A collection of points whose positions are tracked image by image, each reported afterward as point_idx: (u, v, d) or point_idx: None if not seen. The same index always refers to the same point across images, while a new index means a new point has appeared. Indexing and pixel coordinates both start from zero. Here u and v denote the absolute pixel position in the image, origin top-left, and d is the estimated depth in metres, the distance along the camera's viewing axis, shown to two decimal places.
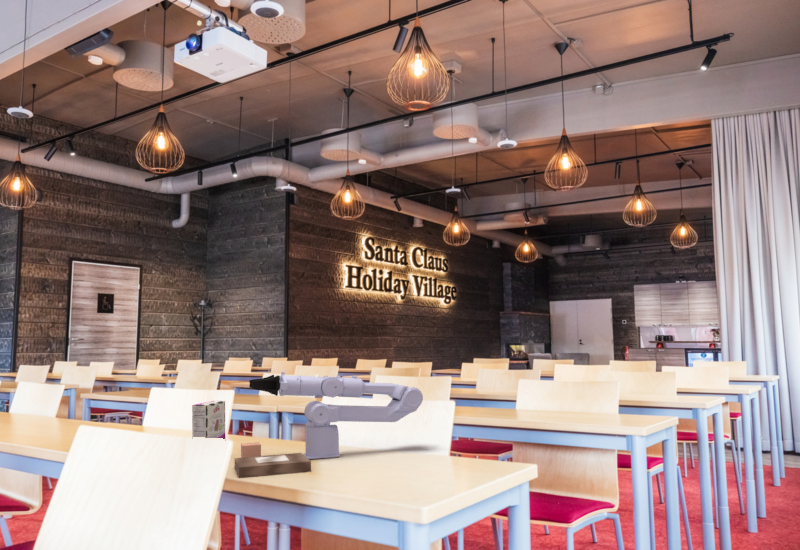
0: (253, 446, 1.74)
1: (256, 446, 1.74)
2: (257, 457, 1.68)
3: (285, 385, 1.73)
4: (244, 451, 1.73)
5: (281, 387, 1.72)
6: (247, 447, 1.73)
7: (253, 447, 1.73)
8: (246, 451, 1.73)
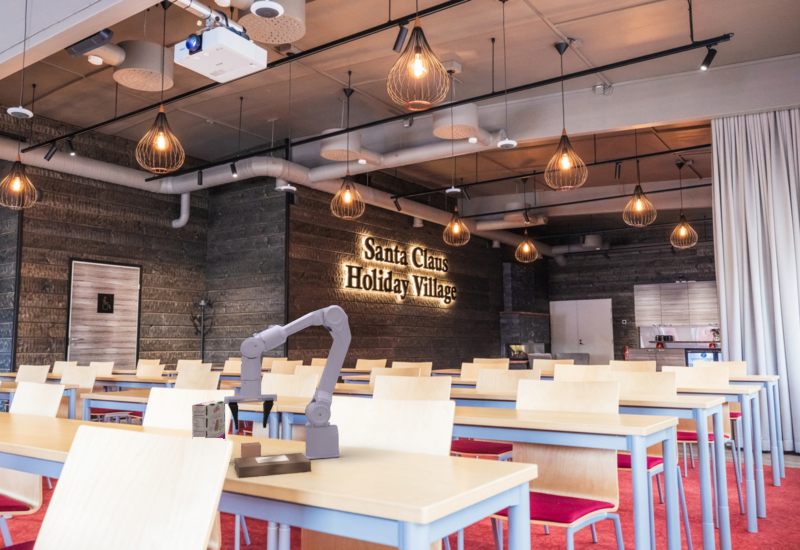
0: (253, 446, 1.74)
1: (256, 446, 1.74)
2: (257, 457, 1.68)
3: (224, 398, 1.75)
4: (244, 451, 1.73)
5: (224, 402, 1.74)
6: (247, 447, 1.73)
7: (253, 447, 1.73)
8: (246, 451, 1.73)
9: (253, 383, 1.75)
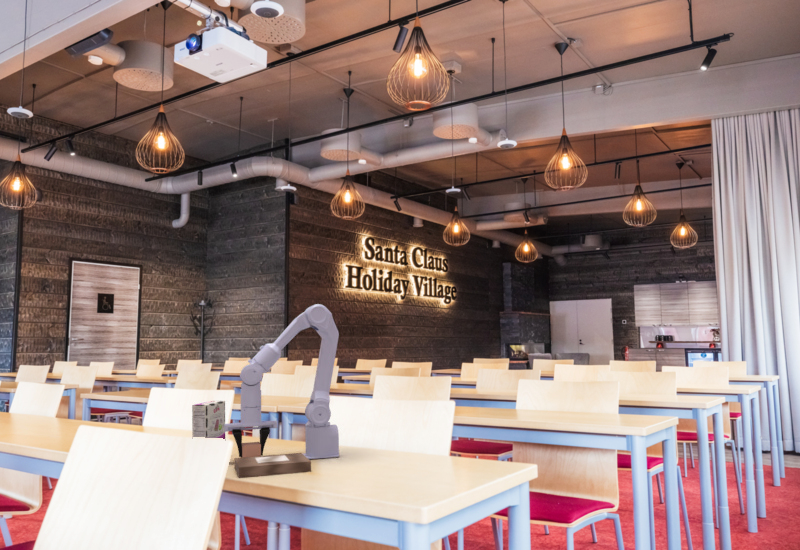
0: (253, 446, 1.74)
1: (256, 446, 1.74)
2: (257, 457, 1.68)
3: (224, 426, 1.74)
4: (244, 451, 1.73)
5: (224, 430, 1.74)
6: (247, 446, 1.73)
7: (253, 447, 1.73)
8: (246, 451, 1.73)
9: (253, 410, 1.74)
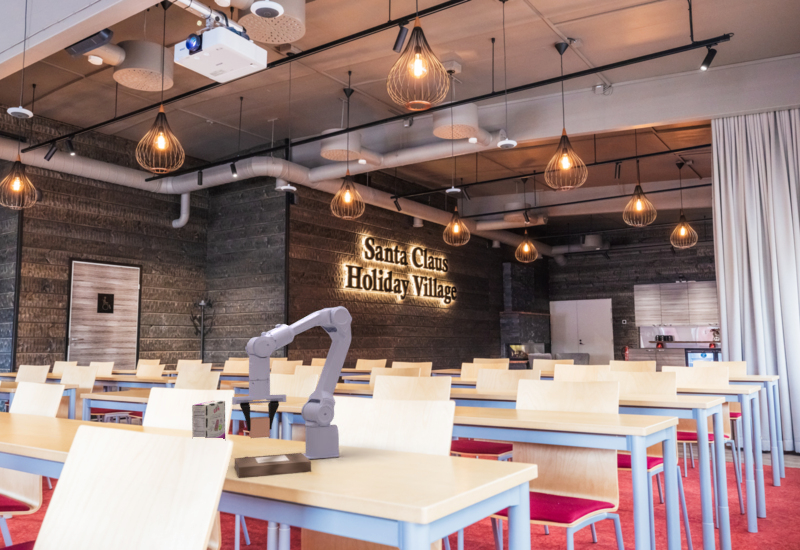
0: (261, 420, 1.70)
1: (265, 420, 1.70)
2: (257, 457, 1.68)
3: (232, 399, 1.70)
4: (252, 424, 1.69)
5: (232, 403, 1.69)
6: (255, 420, 1.69)
7: (261, 421, 1.70)
8: (254, 425, 1.69)
9: (261, 383, 1.70)
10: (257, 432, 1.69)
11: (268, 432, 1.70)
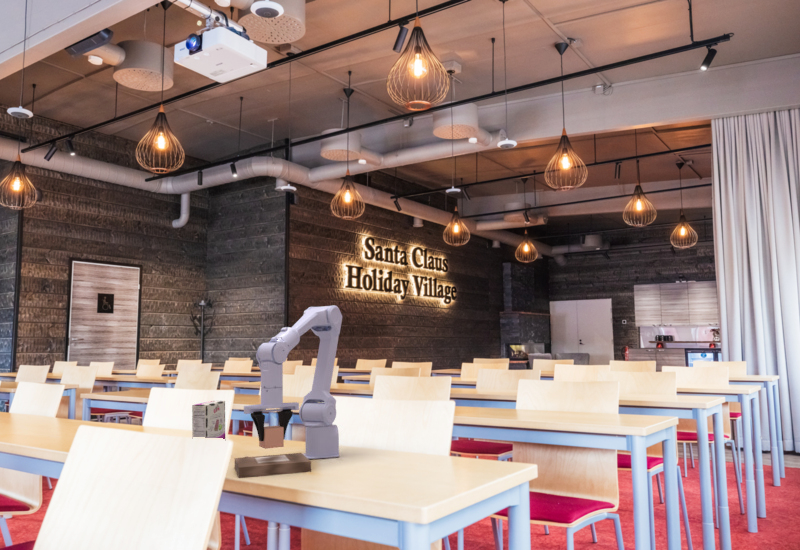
0: (276, 429, 1.63)
1: (279, 429, 1.63)
2: (257, 457, 1.68)
3: (244, 408, 1.62)
4: (267, 434, 1.62)
5: (245, 412, 1.61)
6: (269, 430, 1.62)
7: (276, 430, 1.63)
8: (269, 434, 1.62)
9: (276, 391, 1.63)
10: (271, 442, 1.62)
11: (282, 442, 1.63)
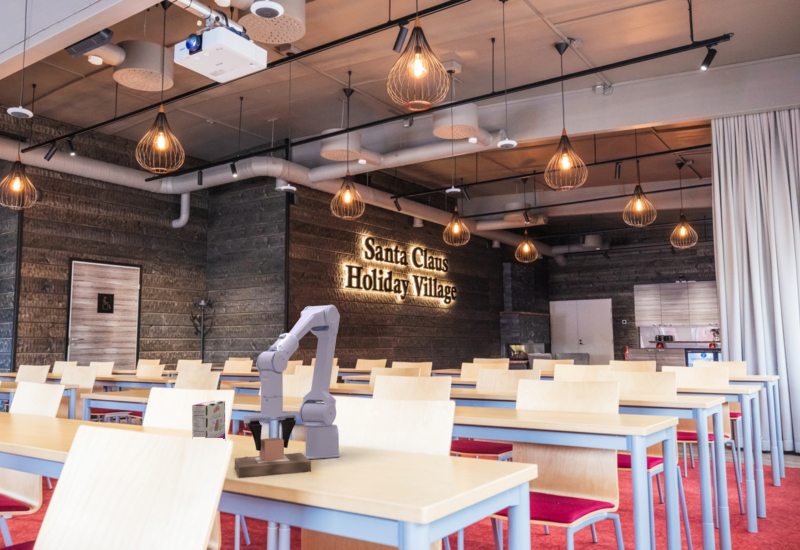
0: (276, 441, 1.63)
1: (279, 441, 1.63)
2: (257, 457, 1.68)
3: (244, 417, 1.61)
4: (267, 447, 1.61)
5: (245, 421, 1.61)
6: (269, 442, 1.62)
7: (276, 442, 1.63)
8: (269, 447, 1.61)
9: (276, 400, 1.63)
10: (271, 455, 1.62)
11: (282, 454, 1.63)
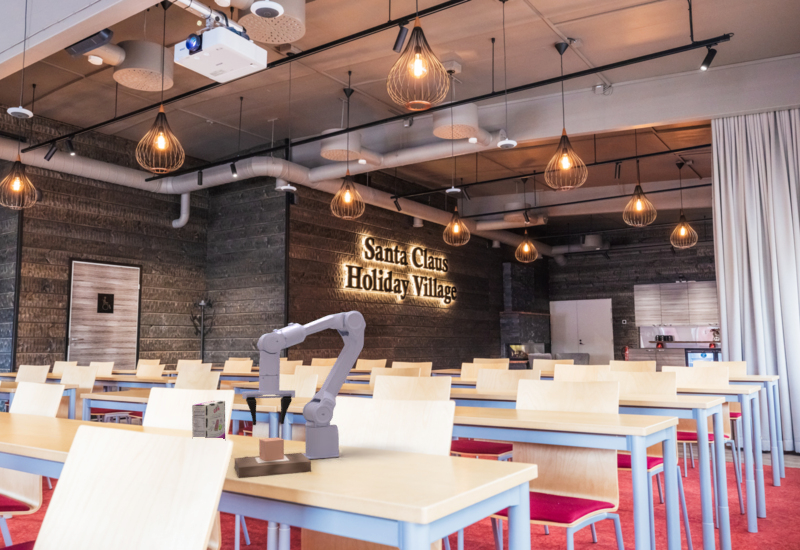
0: (276, 441, 1.63)
1: (279, 441, 1.63)
2: (257, 457, 1.68)
3: (242, 393, 1.74)
4: (267, 447, 1.61)
5: (242, 397, 1.73)
6: (269, 442, 1.62)
7: (276, 442, 1.63)
8: (269, 447, 1.61)
9: (272, 378, 1.74)
10: (271, 455, 1.62)
11: (282, 454, 1.63)
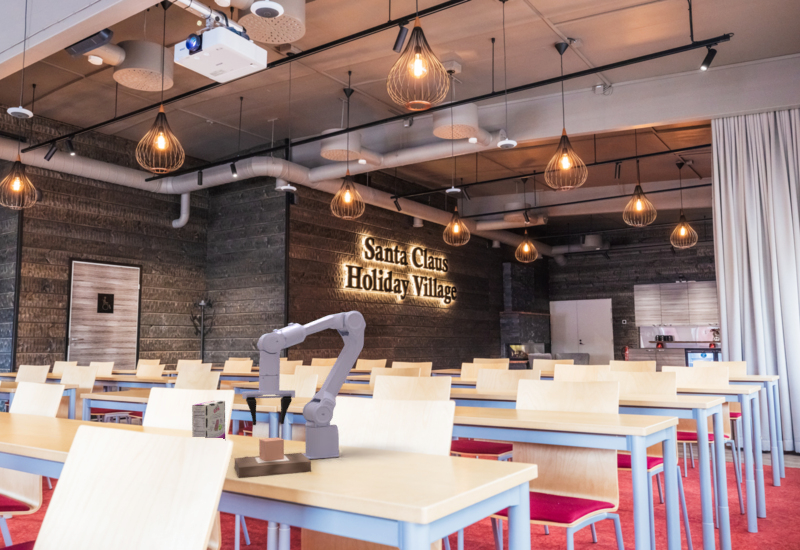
0: (276, 441, 1.63)
1: (279, 441, 1.63)
2: (257, 457, 1.68)
3: (242, 393, 1.74)
4: (267, 447, 1.61)
5: (242, 397, 1.73)
6: (269, 442, 1.62)
7: (276, 442, 1.63)
8: (269, 447, 1.61)
9: (272, 378, 1.74)
10: (271, 455, 1.62)
11: (282, 454, 1.63)
